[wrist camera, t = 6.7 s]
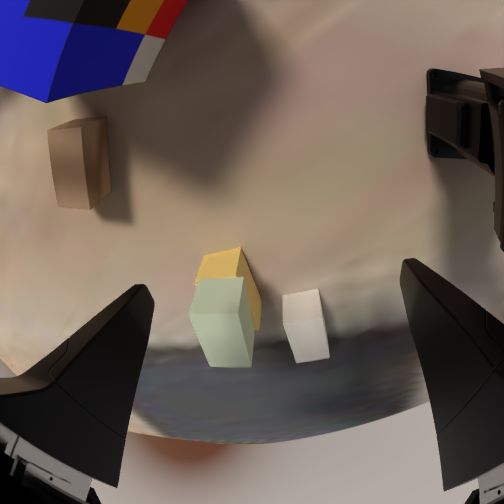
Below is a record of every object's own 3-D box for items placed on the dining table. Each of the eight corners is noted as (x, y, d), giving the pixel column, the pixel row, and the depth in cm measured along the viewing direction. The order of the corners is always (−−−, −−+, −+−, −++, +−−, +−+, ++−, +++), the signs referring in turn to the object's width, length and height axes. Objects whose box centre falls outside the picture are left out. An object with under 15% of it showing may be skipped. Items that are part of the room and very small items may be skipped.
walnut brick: (75, 119, 17) (47, 130, 15) (107, 116, 17) (81, 127, 15) (81, 188, 21) (58, 206, 18) (112, 189, 21) (90, 209, 18)
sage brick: (199, 278, 21) (188, 314, 18) (243, 276, 20) (238, 313, 17) (217, 332, 24) (210, 366, 21) (254, 332, 23) (251, 367, 21)
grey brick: (282, 294, 26) (282, 323, 23) (317, 287, 25) (322, 316, 22) (295, 335, 29) (296, 363, 26) (326, 329, 28) (329, 357, 25)
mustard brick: (204, 255, 24) (194, 282, 21) (240, 246, 23) (235, 275, 20) (228, 306, 27) (223, 334, 24) (261, 300, 26) (259, 329, 23)
